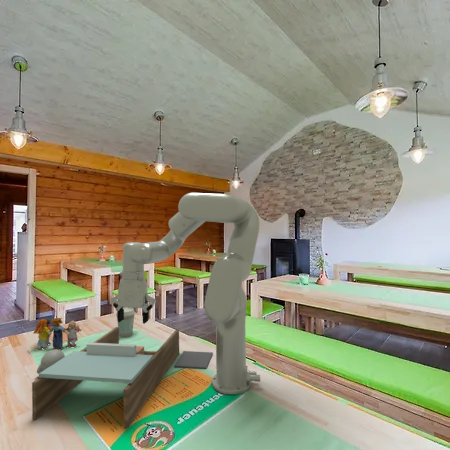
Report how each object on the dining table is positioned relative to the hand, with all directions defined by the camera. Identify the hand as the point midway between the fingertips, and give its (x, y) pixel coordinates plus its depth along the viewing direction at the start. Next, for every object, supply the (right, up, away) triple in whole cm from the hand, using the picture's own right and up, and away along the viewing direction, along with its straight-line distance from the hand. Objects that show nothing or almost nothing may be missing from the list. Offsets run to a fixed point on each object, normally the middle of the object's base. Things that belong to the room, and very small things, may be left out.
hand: (133, 321), depth 102 cm
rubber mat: (+22, -16, +3) cm, 27 cm away
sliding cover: (-3, -6, -22) cm, 23 cm away
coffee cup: (-13, -17, +29) cm, 36 cm away
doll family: (-39, -17, +16) cm, 46 cm away
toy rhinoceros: (-24, -17, -7) cm, 30 cm away
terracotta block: (+1, -16, 0) cm, 16 cm away
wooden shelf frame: (-1, -16, -10) cm, 19 cm away
